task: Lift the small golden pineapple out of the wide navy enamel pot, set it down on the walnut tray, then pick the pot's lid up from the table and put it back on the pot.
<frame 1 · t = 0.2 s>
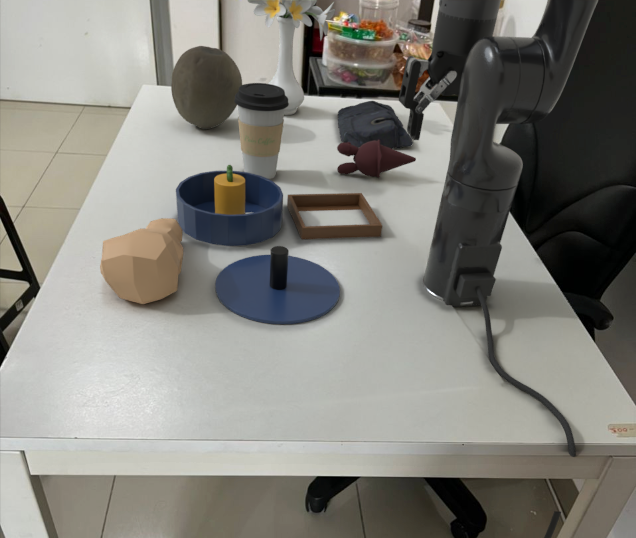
hand: (441, 138, 93), 17 cm above the table, tool pointing down, fingers open, 8 cm apart
cantaloupe: (207, 126, 137), on the table
flower vase: (286, 111, 149), on the table
tray: (332, 223, 108), on the table
squash: (150, 276, 91), on the table
icecream: (373, 176, 124), on the table
dark slate chunk: (372, 131, 143), on the table
lid: (277, 288, 90), point 1 cm above the table
pineapple: (230, 221, 104), resting on pot
pot: (230, 223, 105), on the table
coffee cup: (259, 176, 120), on the table
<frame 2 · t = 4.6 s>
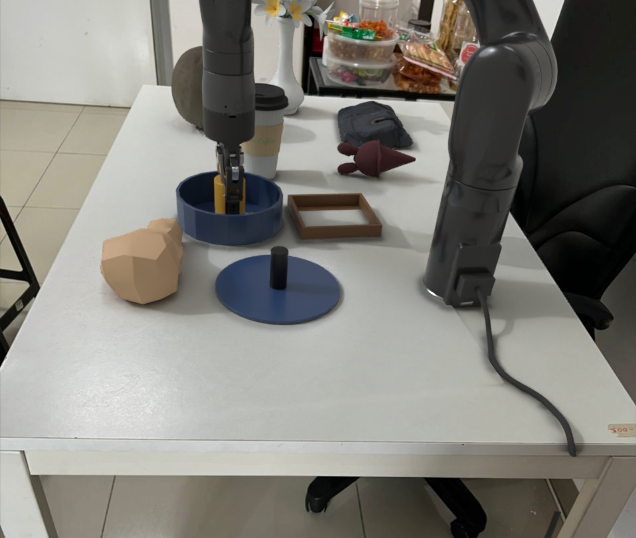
hand: (230, 213, 103), 2 cm above the table, tool pointing down, fingers closed on pineapple, 4 cm apart
pineapple: (230, 221, 104), resting on pot, touching gripper
everything else where it was.
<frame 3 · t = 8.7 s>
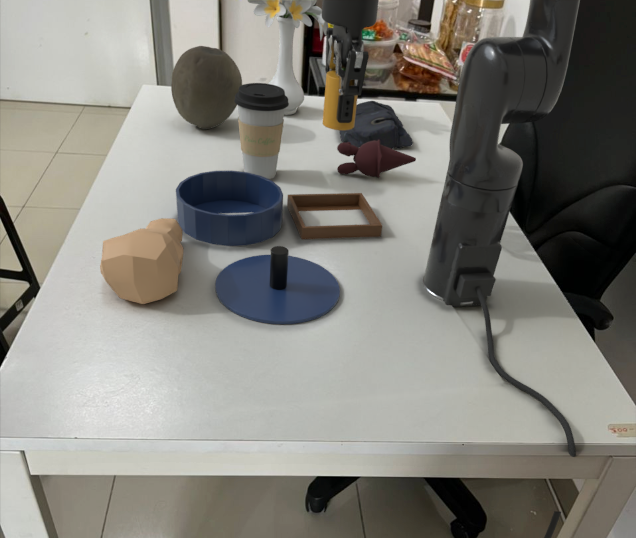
hand: (339, 115, 96), 18 cm above the table, tool pointing down, fingers closed on pineapple, 4 cm apart
pineapple: (338, 124, 97), point 16 cm above the table, touching gripper
everything else where it was.
when the fingers open (2 cm above the table, at t = 12.6 s): pineapple stays where it is, resting on tray.
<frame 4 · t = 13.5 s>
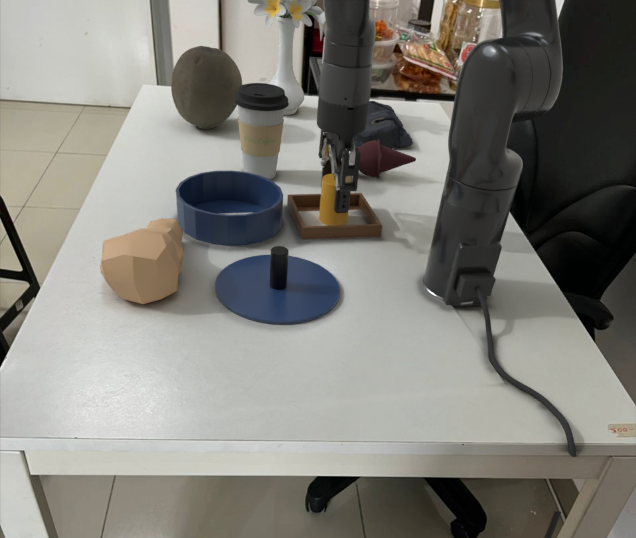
hand: (334, 200, 105), 4 cm above the table, tool pointing down, fingers open, 8 cm apart
pineapple: (333, 220, 108), resting on tray
everything else where it was.
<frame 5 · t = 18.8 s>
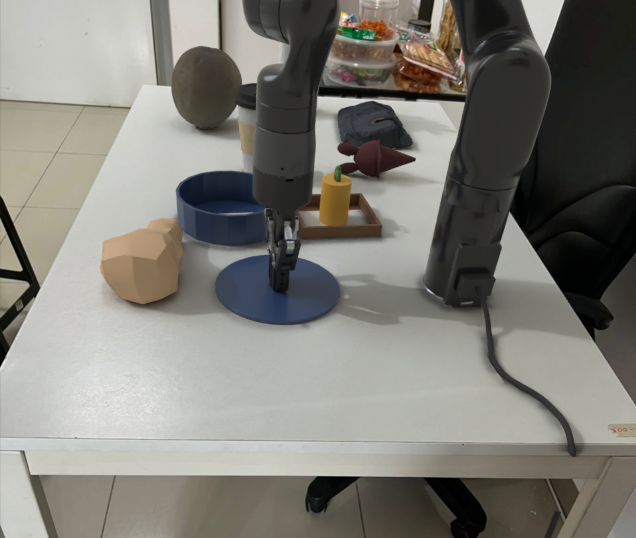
hand: (278, 283, 90), 1 cm above the table, tool pointing down, fingers closed on lid, 2 cm apart
lid: (277, 288, 90), point 1 cm above the table, touching gripper
everything else where it was.
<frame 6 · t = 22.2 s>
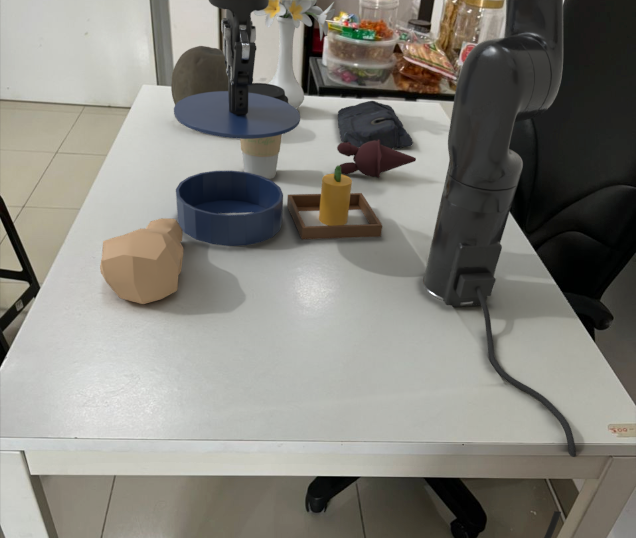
hand: (238, 109, 89), 19 cm above the table, tool pointing down, fingers closed on lid, 2 cm apart
lid: (237, 115, 89), point 18 cm above the table, touching gripper
everything else where it was.
when the fingers open (6 cm above the table, at t = 25.8 s): lid stays where it is, resting on pot.
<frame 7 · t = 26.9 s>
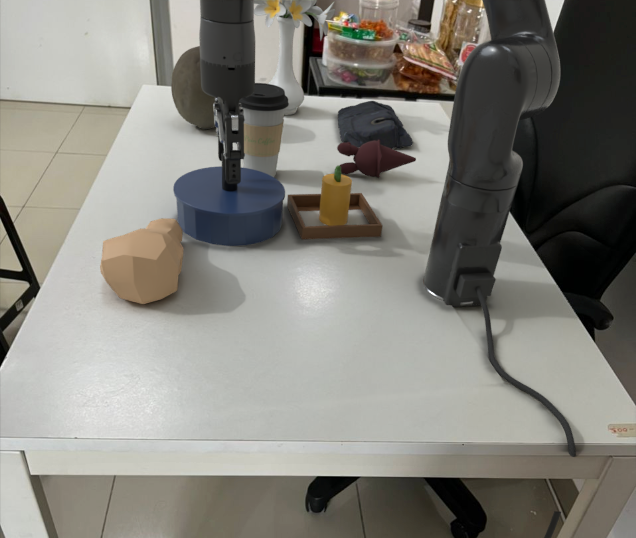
hand: (229, 171, 99), 9 cm above the table, tool pointing down, fingers open, 8 cm apart
lid: (229, 191, 101), point 5 cm above the table, touching pot
everything else where it was.
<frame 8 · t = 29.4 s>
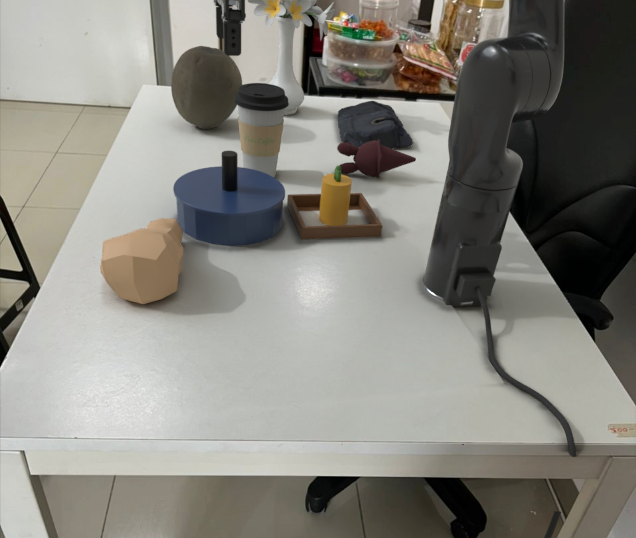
hand: (228, 46, 87), 26 cm above the table, tool pointing down, fingers open, 8 cm apart
nothing on the table moved.
at the end: pineapple inside the target area in the tray (0.2 cm from its centre), point 0.5 cm above the tray's base; lid 0.1 cm off-centre on the pot, point 5.4 cm above the pot's base; lid tilted 0° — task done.
